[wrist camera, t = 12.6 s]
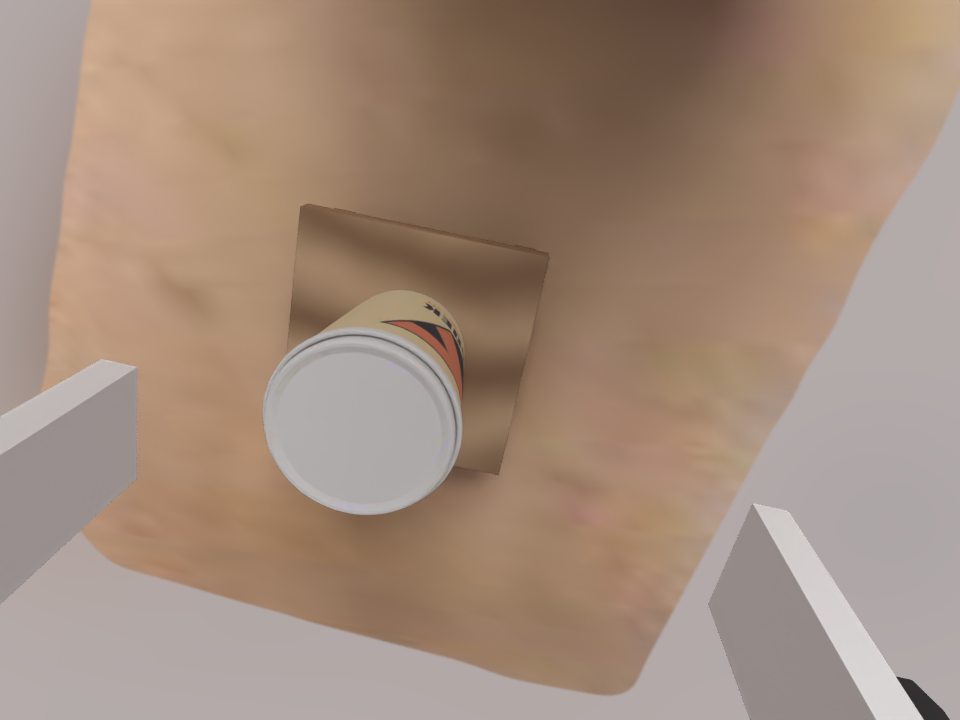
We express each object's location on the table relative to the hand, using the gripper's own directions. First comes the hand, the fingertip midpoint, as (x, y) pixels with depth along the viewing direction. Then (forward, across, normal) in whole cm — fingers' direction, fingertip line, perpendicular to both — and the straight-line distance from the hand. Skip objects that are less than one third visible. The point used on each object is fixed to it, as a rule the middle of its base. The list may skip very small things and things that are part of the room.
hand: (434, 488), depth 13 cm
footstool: (+31, -4, -8) cm, 32 cm away
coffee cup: (+26, -4, -7) cm, 27 cm away
